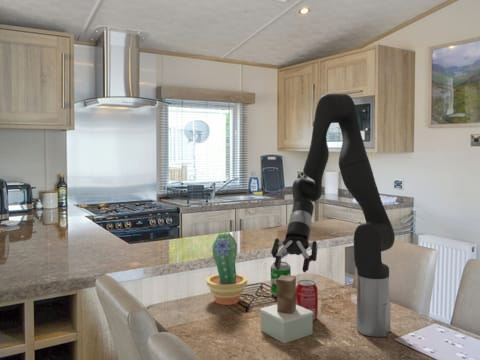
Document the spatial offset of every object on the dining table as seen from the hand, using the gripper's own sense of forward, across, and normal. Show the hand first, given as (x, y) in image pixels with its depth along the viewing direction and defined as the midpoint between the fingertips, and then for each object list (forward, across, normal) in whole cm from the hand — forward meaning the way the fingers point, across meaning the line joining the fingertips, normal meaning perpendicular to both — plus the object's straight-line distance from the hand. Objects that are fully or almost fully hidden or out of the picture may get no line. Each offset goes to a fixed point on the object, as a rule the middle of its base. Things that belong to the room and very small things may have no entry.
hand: (290, 269), depth 133 cm
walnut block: (+11, 0, +4) cm, 12 cm away
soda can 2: (+7, +3, +18) cm, 20 cm away
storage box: (+16, 0, +9) cm, 19 cm away
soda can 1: (-7, -11, +32) cm, 35 cm away
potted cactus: (+2, -28, +23) cm, 36 cm away
